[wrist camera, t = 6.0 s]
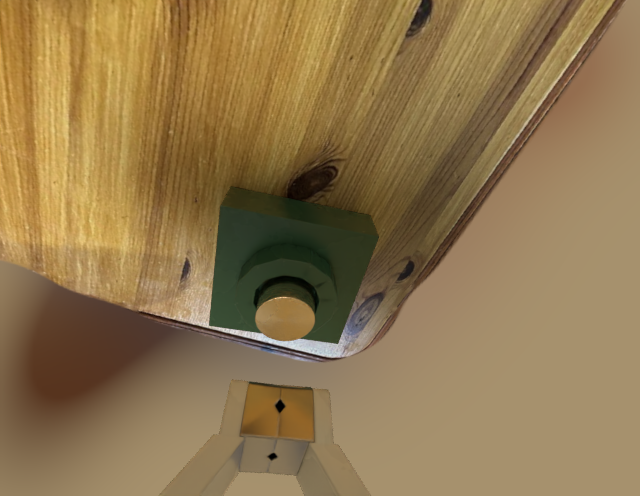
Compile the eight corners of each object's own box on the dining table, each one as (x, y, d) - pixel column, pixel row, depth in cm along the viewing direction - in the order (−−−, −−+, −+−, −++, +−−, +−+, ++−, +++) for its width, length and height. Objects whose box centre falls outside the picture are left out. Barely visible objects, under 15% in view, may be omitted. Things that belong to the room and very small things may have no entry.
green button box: (370, 214, 24) (385, 251, 20) (335, 316, 29) (340, 362, 24) (230, 185, 22) (212, 219, 18) (218, 297, 27) (202, 344, 23)
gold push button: (320, 281, 21) (321, 302, 19) (307, 321, 23) (307, 344, 21) (263, 271, 20) (259, 292, 19) (255, 314, 22) (251, 337, 20)
